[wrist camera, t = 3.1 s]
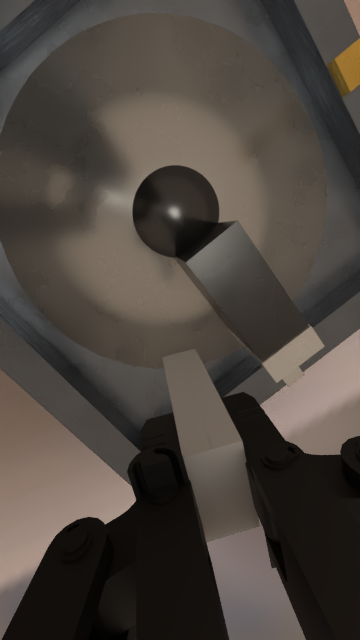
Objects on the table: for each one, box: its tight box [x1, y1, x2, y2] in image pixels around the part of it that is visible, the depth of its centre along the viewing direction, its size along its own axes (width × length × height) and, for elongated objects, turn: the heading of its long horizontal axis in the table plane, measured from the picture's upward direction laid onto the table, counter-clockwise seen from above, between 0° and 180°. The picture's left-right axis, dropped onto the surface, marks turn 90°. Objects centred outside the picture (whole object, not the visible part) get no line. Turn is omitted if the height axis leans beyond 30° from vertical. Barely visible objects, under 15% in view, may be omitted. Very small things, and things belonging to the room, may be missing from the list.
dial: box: [0, 13, 327, 383], centre depth 15 cm, size 17×17×6 cm
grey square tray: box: [0, 0, 360, 486], centre depth 18 cm, size 24×24×5 cm
